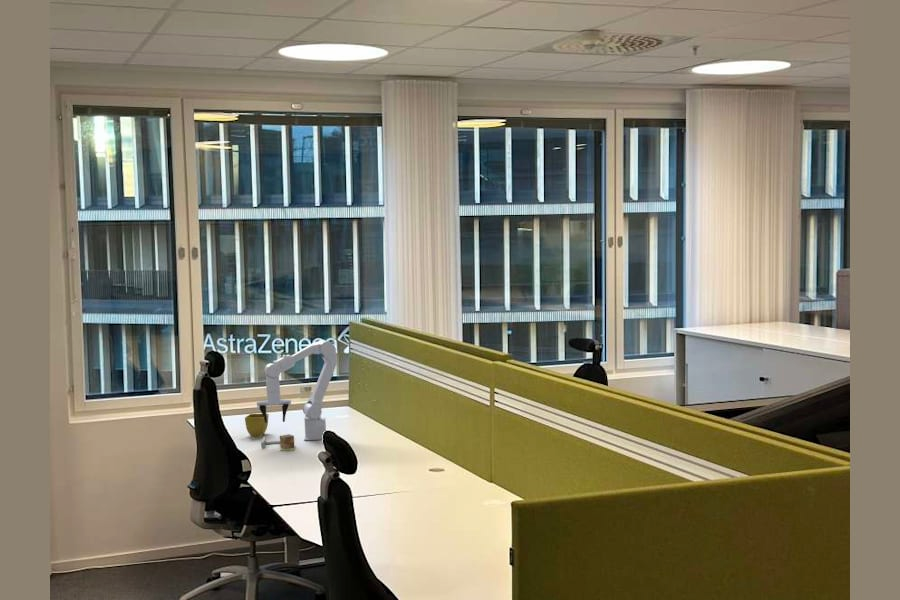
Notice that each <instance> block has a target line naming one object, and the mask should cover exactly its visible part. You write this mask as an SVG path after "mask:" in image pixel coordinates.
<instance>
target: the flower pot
mask: <svg viewBox="0 0 900 600" xmlns="http://www.w3.org/2000/svg"><path fill="white" fill-rule="evenodd" d="M266 415H267V423H265V420H264V417H263V415H262V413H250V414H247V416H245V417H244V422H245V428H246V431H247V432H248V435H250V436H251V437H258V436H259V437H261V436H264V434H265V433H266V431H267V428H268V424H269V413H266Z"/></svg>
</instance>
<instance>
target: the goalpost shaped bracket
mask: <svg viewBox="0 0 900 600" xmlns="http://www.w3.org/2000/svg"><path fill="white" fill-rule="evenodd" d="M260 443H261V444H260V445H261V446H260V447H261V449H265V446H266V445H280V440H273V441H267V437H266V436H263V437H262V440H261V442H260Z"/></svg>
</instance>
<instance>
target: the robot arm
mask: <svg viewBox="0 0 900 600" xmlns="http://www.w3.org/2000/svg"><path fill="white" fill-rule="evenodd" d="M310 355H320V356H321V357H322V360H323V362H324V363H323V365H322V366H323V367H322V368H321V371H320V374H319V377H318V379H317V381H316V384H315V386H314V388H313V392H312V393H311V396H309V398H308V399H307V402H306V403H305V404H304V405H303V407H302V412H303V414H304V415H305V416H304V417H303V418H304V420H303V421H304V438H303V441H317V440H318V441H320V440H323V439H322V435H323V432H324V431H327V423H326V421H327V420H326V417H321V415H322V412H323V411H322V408H323V406H324V405H323V400H324V397H325V394H326V392H327V390H328V387H329V385H330V382H331V379H332V377H333V375H334V372H335V369H336V367H337V364H338V359H337V349H336V347H335V345H334V344H333V343H332V342H331V341H330V340H329V341H327V340H326V339H318V340H317V341H314V342H312V343H311V344H309V345H308V346H306V347H304V348H302V349H301V350H299V351H297V352H295V353H294V354H292V355H291V354H283V355H282V357H281V358H279V359H277V360H273V361H272V363H271V362H270V363H268V364H266V365H265V367H264V370H263V372H264V374H265V384H266V385H265V387H266V400H262V401H260V400H259V401H256V407H258V408H259V410H260V414H262V415H263V417H264V420H265V423H267V415H266V414H267V407H270V406H271V407H272V406H281V408H282V422H283V423H284V422H286V415H287V411H288V407H290V406H291V405H292V400H291V399H281V388H280V387H281V385H280V384H281V383H280V375H281V373H284V372H286V371H288V370H290V369H291V368H294V366H295V365H296V362H299V361H300V360H302V359H304V358H306V357H308V356H310Z"/></svg>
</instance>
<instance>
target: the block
mask: <svg viewBox="0 0 900 600" xmlns="http://www.w3.org/2000/svg"><path fill="white" fill-rule="evenodd" d="M279 441H280V444H279V448H280V449H281V448H283V449H289V448H294V446H295V436H294V435H293V434H290V433H289V434H288V433H287V434H283V435H279Z"/></svg>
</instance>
